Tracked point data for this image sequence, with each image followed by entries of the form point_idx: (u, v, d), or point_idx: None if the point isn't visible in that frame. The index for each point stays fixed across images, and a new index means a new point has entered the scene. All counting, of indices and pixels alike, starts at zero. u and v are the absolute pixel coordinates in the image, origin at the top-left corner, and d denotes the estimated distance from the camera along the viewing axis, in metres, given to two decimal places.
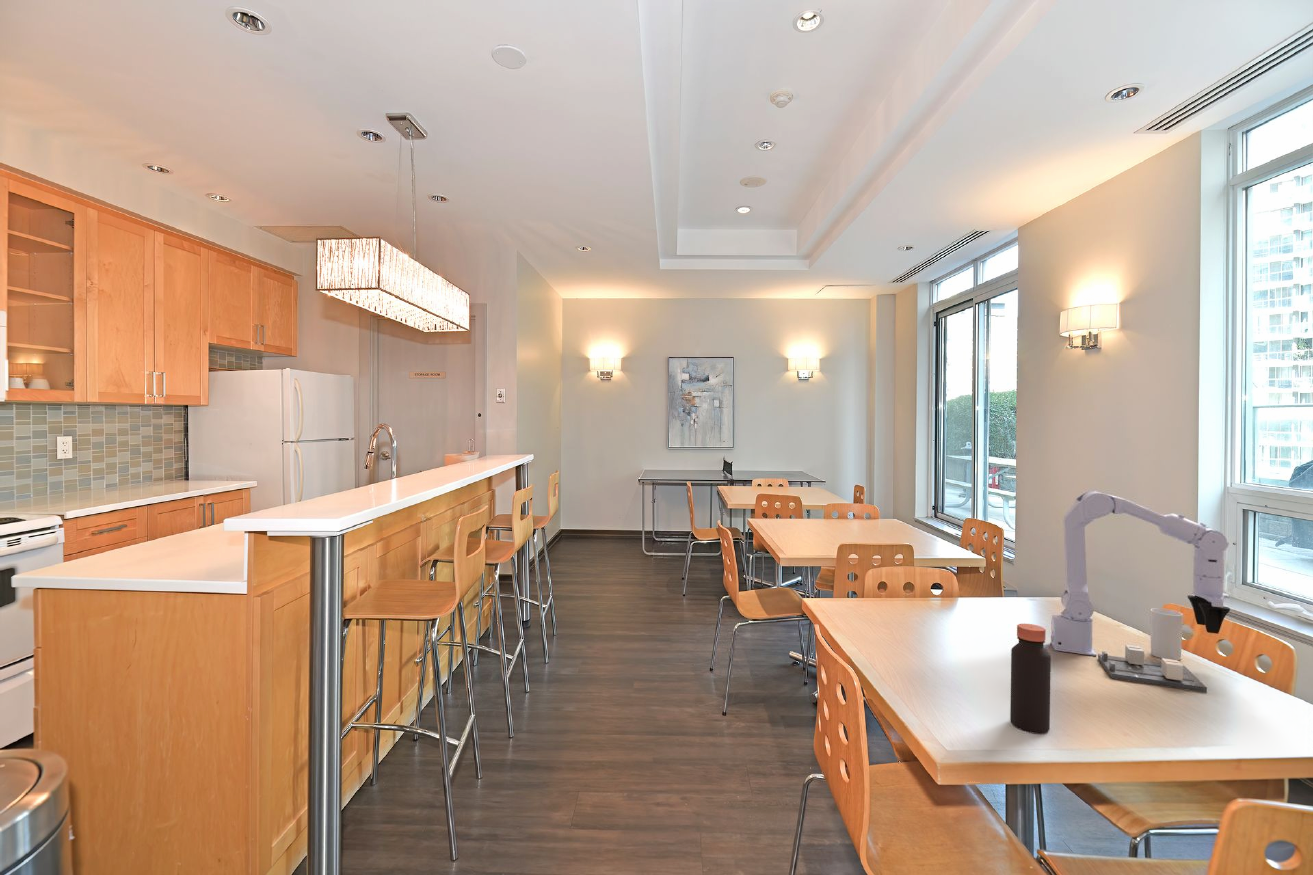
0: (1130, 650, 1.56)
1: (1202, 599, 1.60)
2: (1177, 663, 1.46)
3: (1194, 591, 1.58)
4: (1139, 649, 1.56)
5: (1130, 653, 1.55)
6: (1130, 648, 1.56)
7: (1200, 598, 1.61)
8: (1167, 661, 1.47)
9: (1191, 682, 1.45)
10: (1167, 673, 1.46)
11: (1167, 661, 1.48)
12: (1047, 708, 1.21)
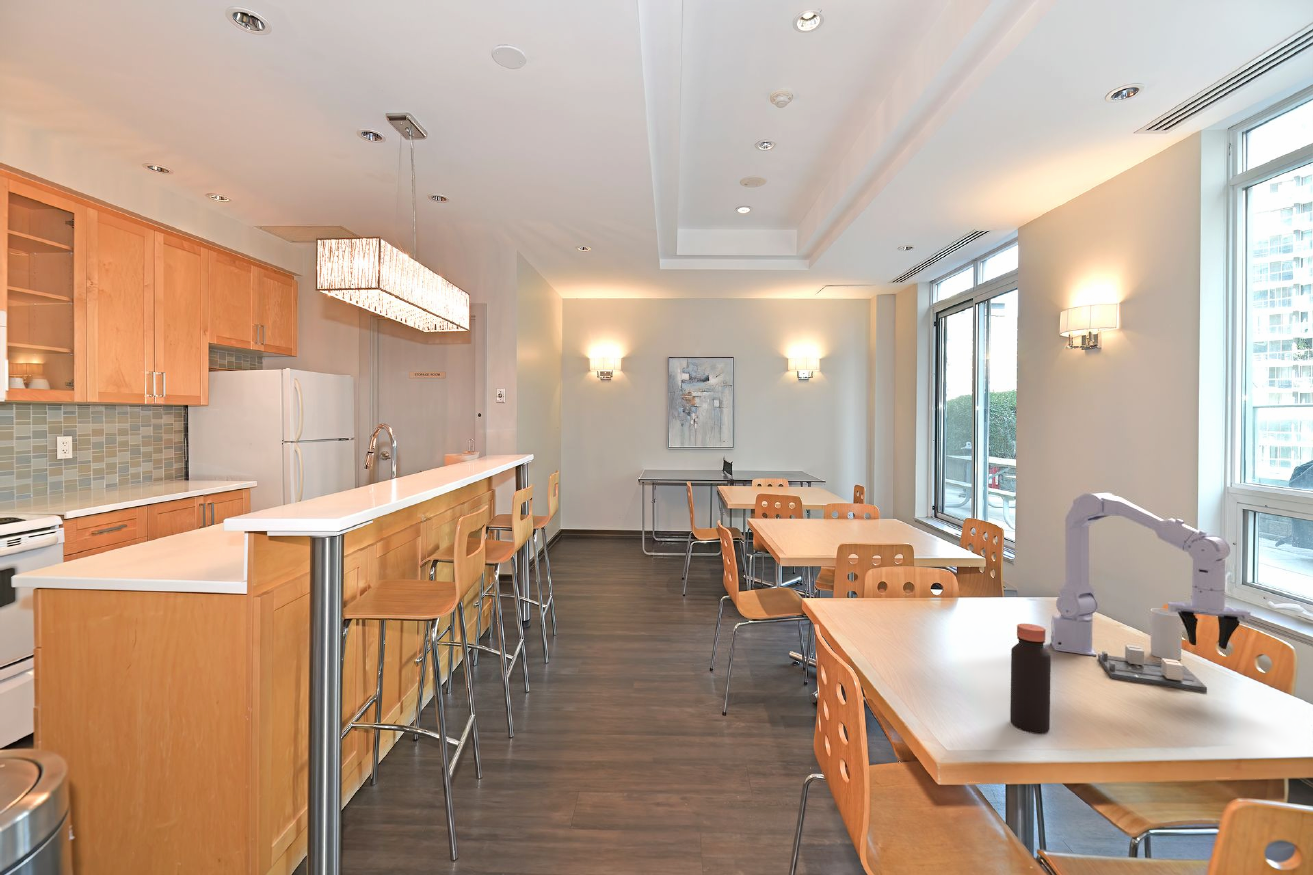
0: (1130, 650, 1.56)
1: (1222, 619, 1.43)
2: (1177, 663, 1.46)
3: None
4: (1139, 649, 1.56)
5: (1130, 653, 1.55)
6: (1130, 648, 1.56)
7: (1221, 618, 1.44)
8: (1167, 661, 1.47)
9: (1191, 682, 1.45)
10: (1167, 673, 1.46)
11: (1167, 661, 1.48)
12: (1047, 708, 1.21)
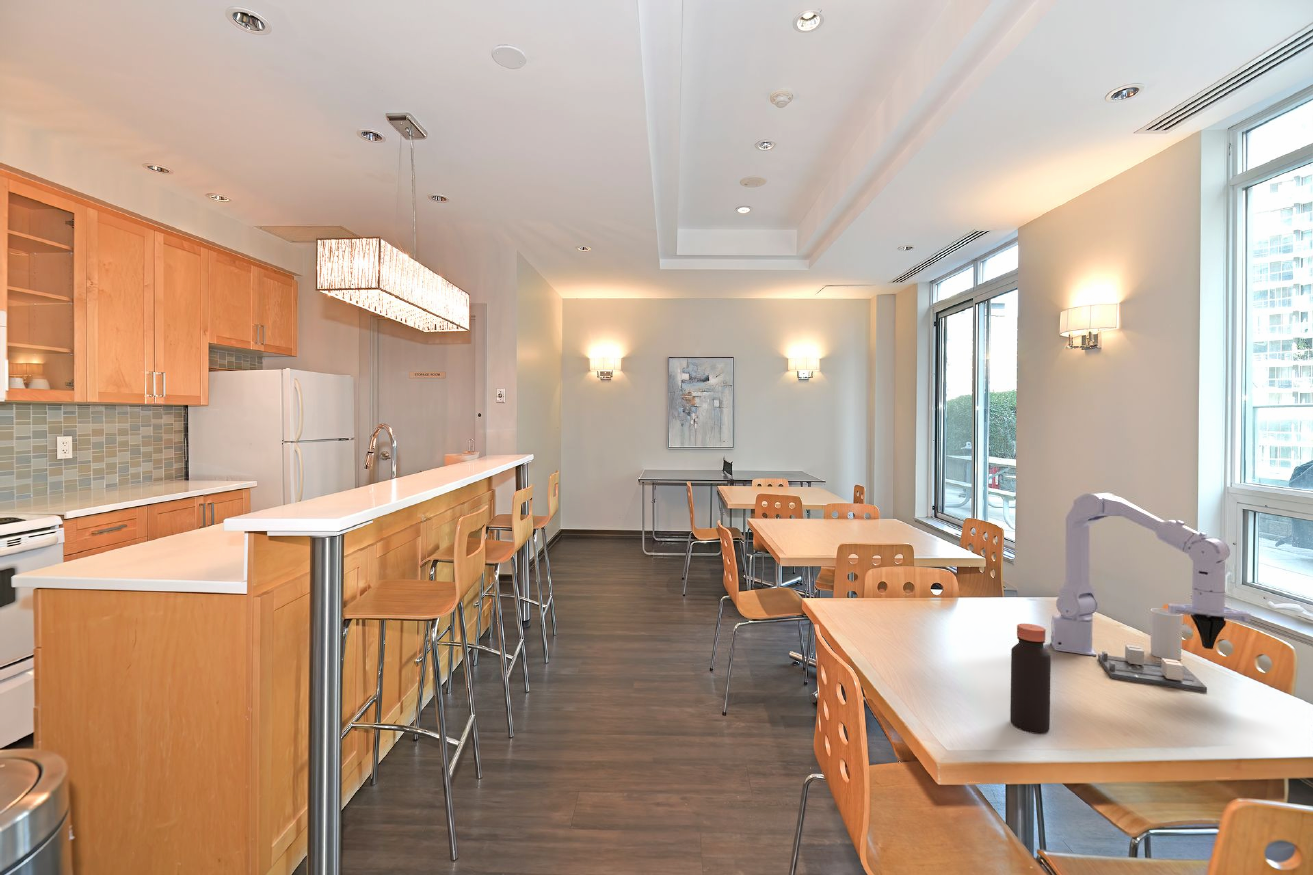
0: (1130, 650, 1.56)
1: (1208, 619, 1.44)
2: (1177, 663, 1.46)
3: None
4: (1139, 649, 1.56)
5: (1130, 653, 1.55)
6: (1130, 648, 1.56)
7: None
8: (1167, 661, 1.47)
9: (1191, 682, 1.45)
10: (1167, 673, 1.46)
11: (1167, 661, 1.48)
12: (1047, 708, 1.21)
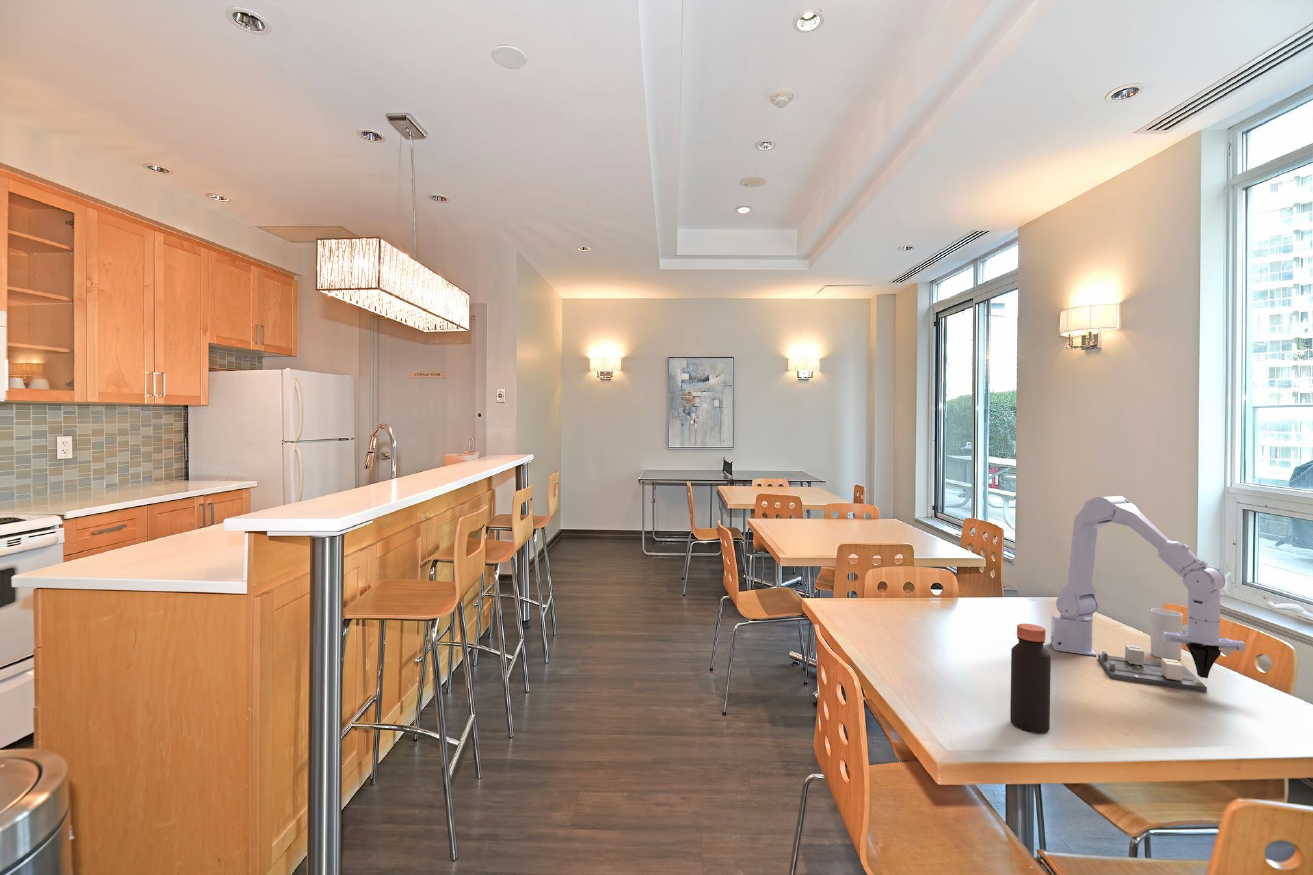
0: (1130, 650, 1.56)
1: None
2: (1177, 663, 1.46)
3: None
4: (1139, 649, 1.56)
5: (1130, 653, 1.55)
6: (1130, 648, 1.56)
7: None
8: (1167, 661, 1.47)
9: (1191, 682, 1.45)
10: (1167, 673, 1.46)
11: (1167, 661, 1.48)
12: (1047, 708, 1.21)
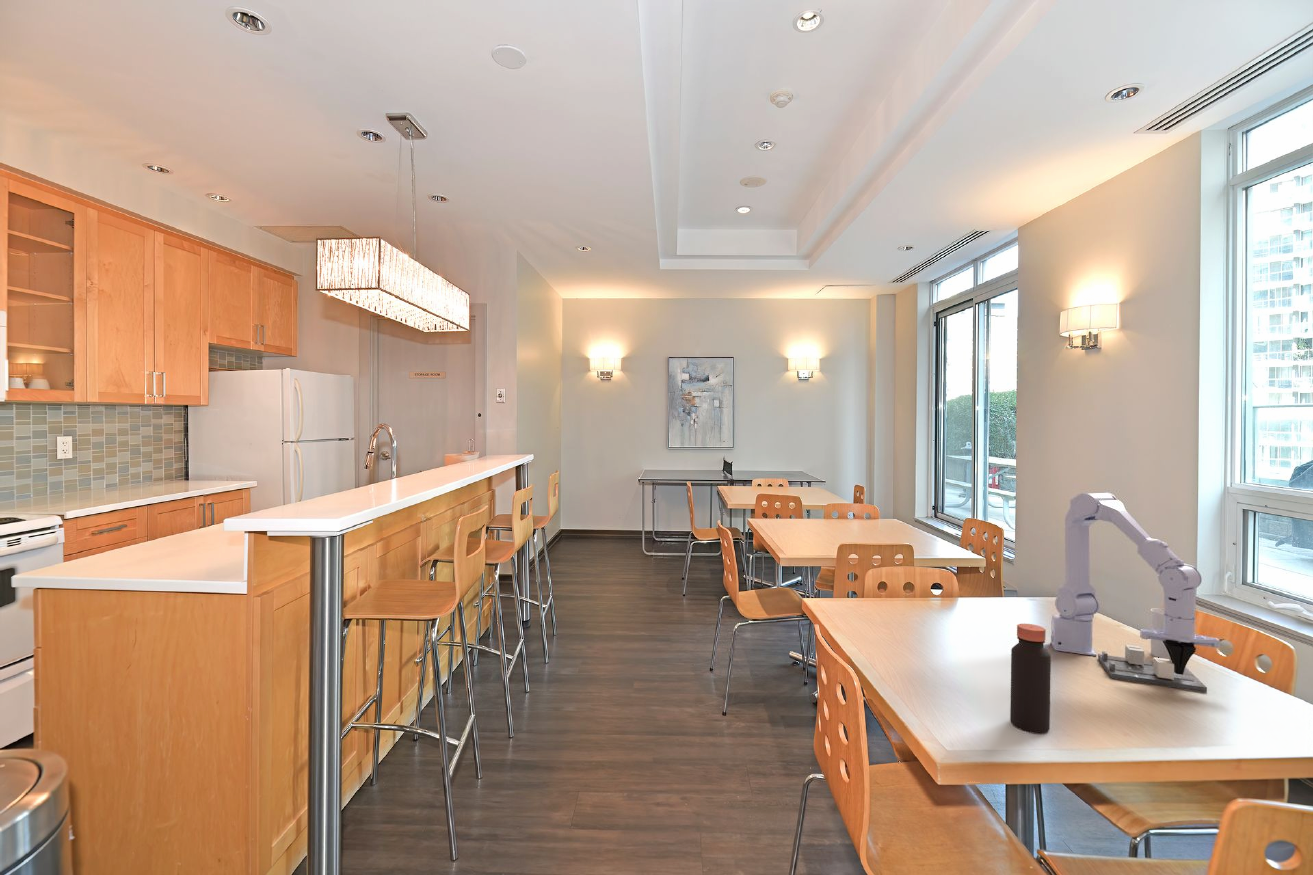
0: (1130, 650, 1.56)
1: (1179, 645, 1.47)
2: (1168, 662, 1.47)
3: None
4: (1139, 649, 1.56)
5: (1130, 653, 1.55)
6: (1130, 648, 1.56)
7: (1179, 644, 1.47)
8: (1159, 660, 1.48)
9: (1191, 682, 1.45)
10: (1158, 672, 1.47)
11: (1159, 660, 1.48)
12: (1047, 708, 1.21)
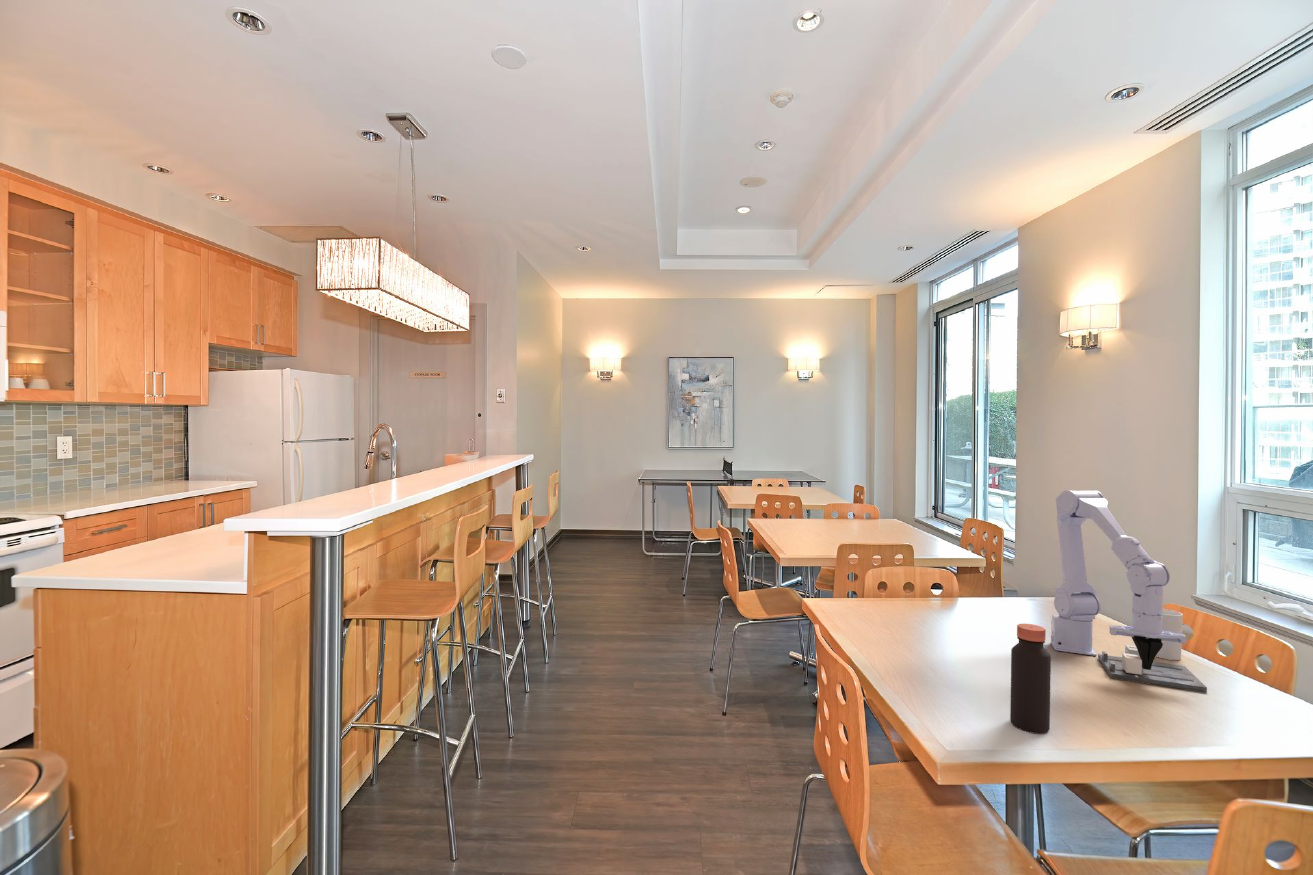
0: (1130, 650, 1.56)
1: (1147, 641, 1.49)
2: (1136, 657, 1.49)
3: None
4: None
5: (1130, 653, 1.55)
6: (1130, 648, 1.56)
7: (1147, 639, 1.50)
8: (1127, 656, 1.51)
9: (1191, 682, 1.45)
10: (1127, 667, 1.49)
11: (1127, 655, 1.51)
12: (1047, 708, 1.21)
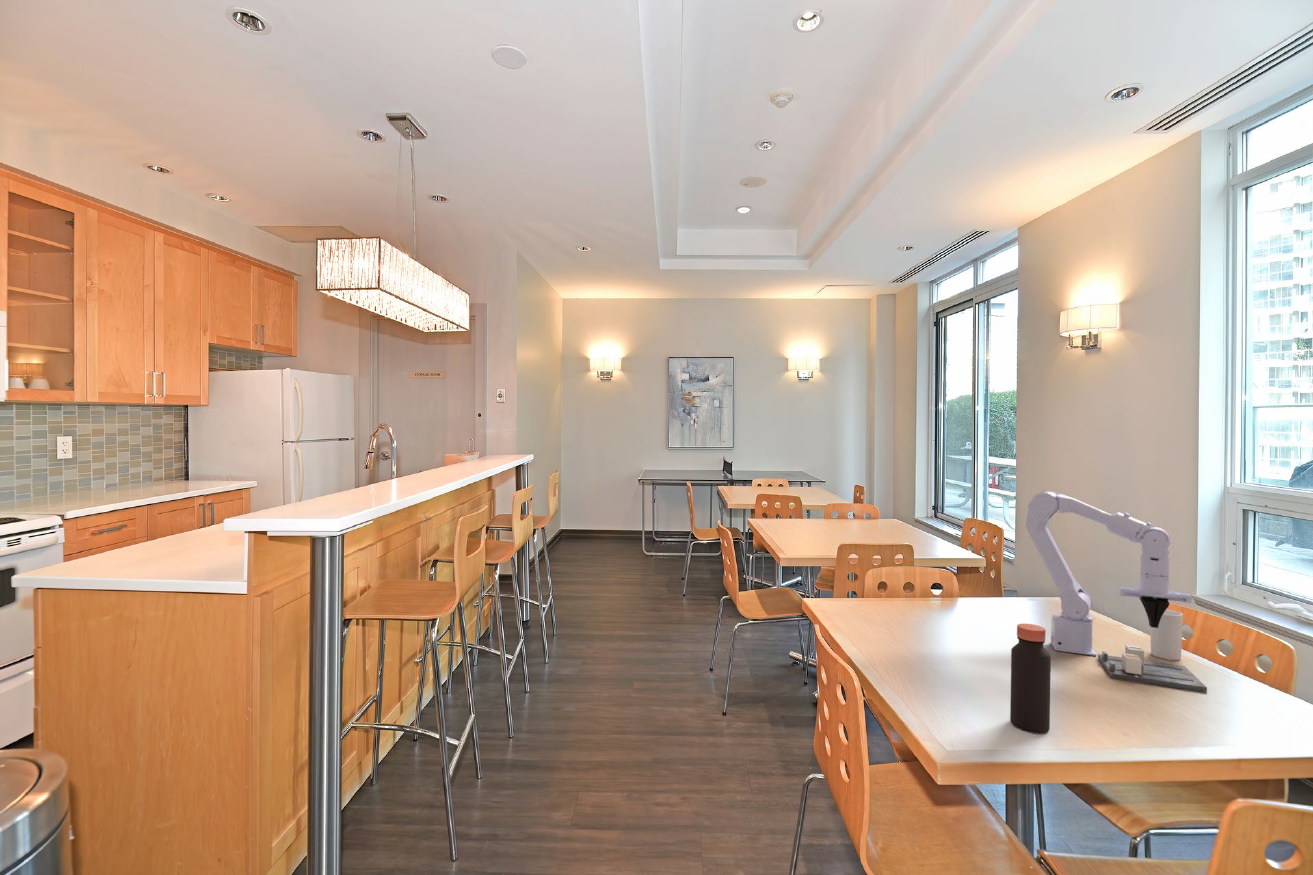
0: (1130, 650, 1.56)
1: (1154, 601, 1.59)
2: (1136, 657, 1.50)
3: None
4: (1139, 649, 1.56)
5: (1130, 653, 1.55)
6: (1130, 648, 1.56)
7: (1154, 600, 1.59)
8: (1127, 656, 1.51)
9: (1191, 682, 1.45)
10: (1126, 667, 1.49)
11: (1127, 655, 1.51)
12: (1047, 708, 1.21)
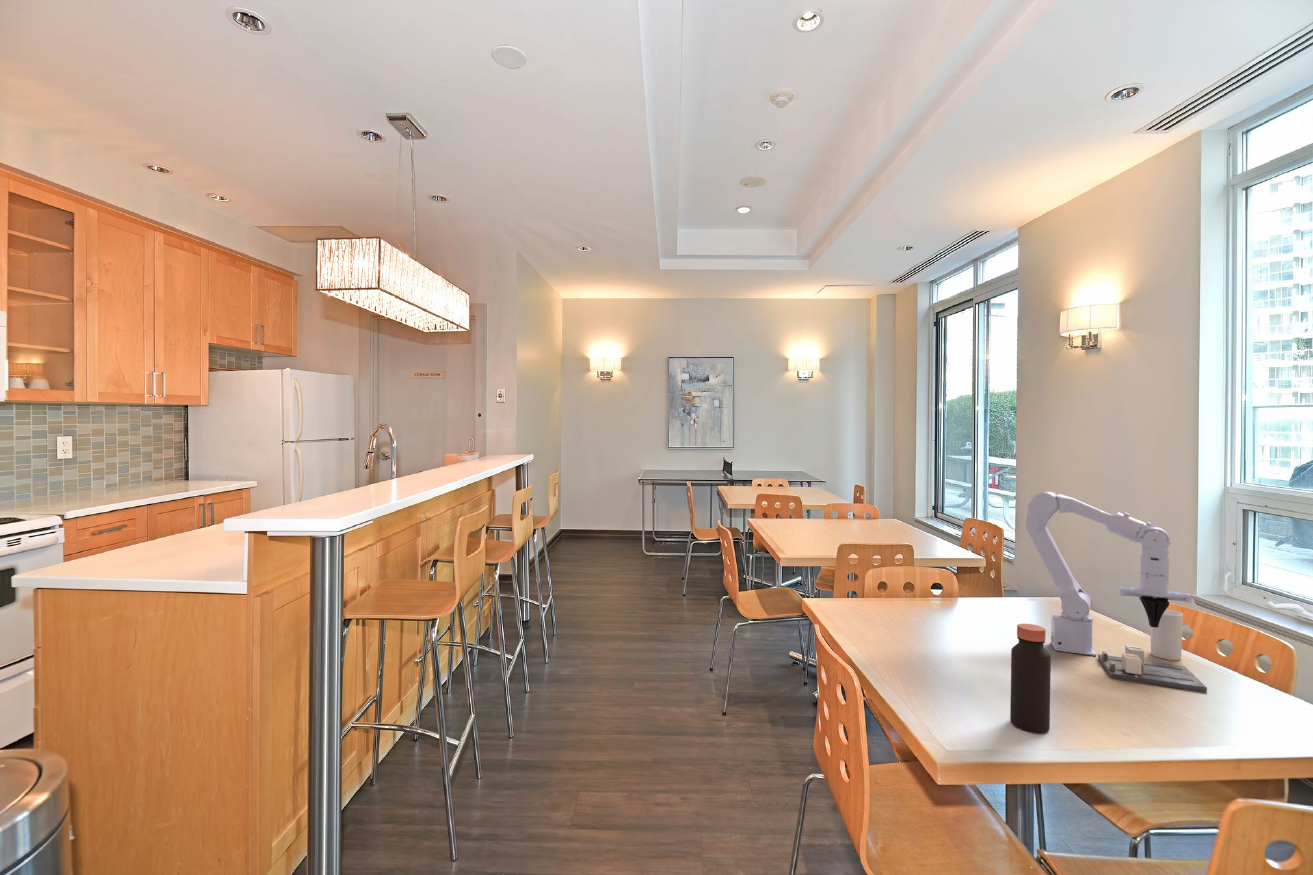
0: (1130, 650, 1.56)
1: (1154, 600, 1.59)
2: (1136, 657, 1.50)
3: None
4: (1139, 649, 1.56)
5: (1130, 653, 1.55)
6: (1130, 648, 1.56)
7: (1154, 599, 1.59)
8: (1127, 656, 1.51)
9: (1191, 682, 1.45)
10: (1126, 667, 1.49)
11: (1127, 655, 1.51)
12: (1047, 708, 1.21)
